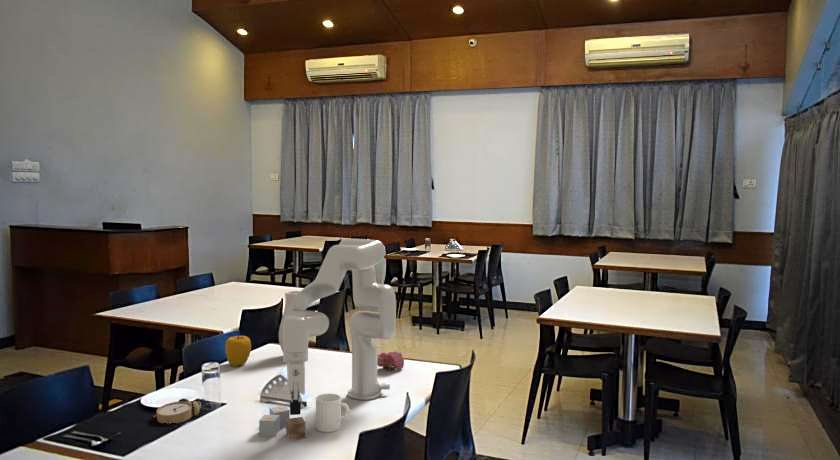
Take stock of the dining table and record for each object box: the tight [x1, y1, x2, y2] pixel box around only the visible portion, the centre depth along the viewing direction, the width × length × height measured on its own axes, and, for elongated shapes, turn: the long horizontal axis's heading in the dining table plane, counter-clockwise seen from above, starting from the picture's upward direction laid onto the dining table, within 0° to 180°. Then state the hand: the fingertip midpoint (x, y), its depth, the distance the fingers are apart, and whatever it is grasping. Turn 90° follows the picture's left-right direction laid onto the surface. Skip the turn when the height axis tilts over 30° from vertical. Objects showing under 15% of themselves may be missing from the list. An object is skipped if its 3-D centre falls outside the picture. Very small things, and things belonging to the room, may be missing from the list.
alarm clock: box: [152, 397, 202, 425], centre depth 203 cm, size 11×5×15 cm
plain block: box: [285, 416, 306, 441], centre depth 188 cm, size 5×5×5 cm
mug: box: [315, 393, 351, 433], centre depth 195 cm, size 8×12×10 cm
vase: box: [278, 290, 310, 353], centre depth 275 cm, size 14×14×30 cm
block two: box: [269, 405, 291, 428], centre depth 198 cm, size 5×5×5 cm
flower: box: [377, 350, 405, 371], centre depth 259 cm, size 11×10×10 cm
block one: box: [258, 414, 281, 437], centre depth 190 cm, size 5×5×5 cm
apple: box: [224, 335, 252, 367], centre depth 263 cm, size 11×11×13 cm
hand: (295, 413), depth 188 cm, fingers closed
